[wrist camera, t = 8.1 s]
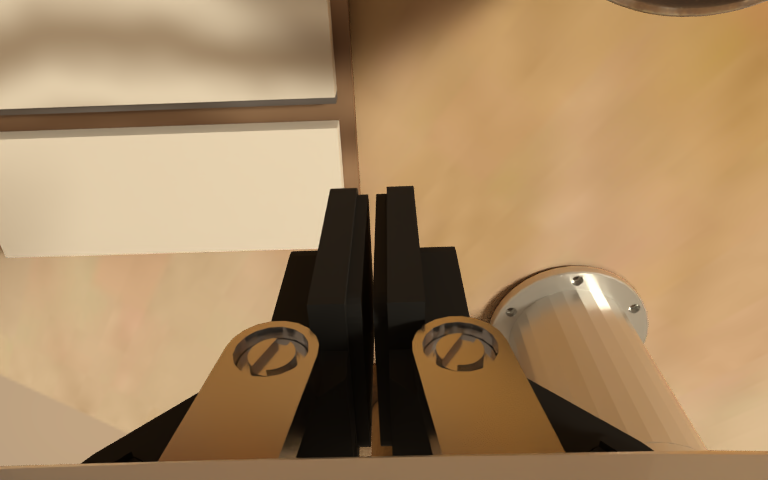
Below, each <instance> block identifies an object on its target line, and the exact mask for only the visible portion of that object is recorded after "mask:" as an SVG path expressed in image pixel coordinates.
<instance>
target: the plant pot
mask: <svg viewBox="0 0 768 480" xmlns="http://www.w3.org/2000/svg"><path fill="white" fill-rule="evenodd" d="M608 1H610V2H612V3H614V4H617V5H620V6H623V7H626V8H629V9H632V10H635V11H639V12H644V13H648V14H655V15H663V16H677V17H689V16H707V15H715V14H721V13H727V12H732V11H736V10H740V9H743V8H747V7H750V6H754V5H756V4H759V3H762V2H765V1H768V0H608Z"/></svg>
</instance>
